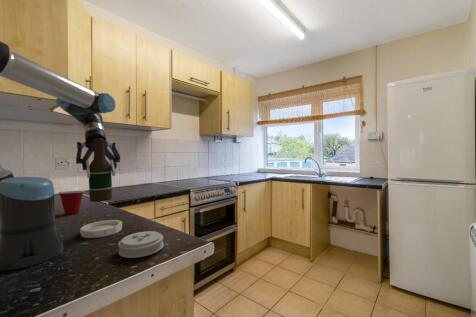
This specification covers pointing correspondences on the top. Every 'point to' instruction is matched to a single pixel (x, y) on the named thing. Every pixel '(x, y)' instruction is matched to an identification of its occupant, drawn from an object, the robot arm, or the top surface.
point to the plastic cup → (71, 201)
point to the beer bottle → (100, 174)
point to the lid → (140, 244)
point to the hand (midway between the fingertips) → (101, 174)
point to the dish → (101, 229)
